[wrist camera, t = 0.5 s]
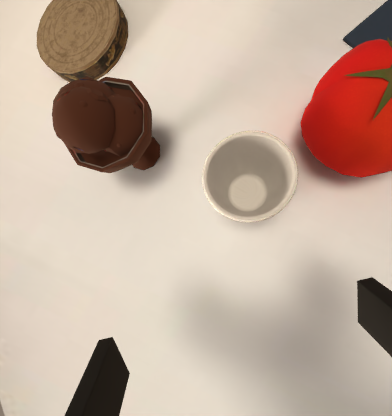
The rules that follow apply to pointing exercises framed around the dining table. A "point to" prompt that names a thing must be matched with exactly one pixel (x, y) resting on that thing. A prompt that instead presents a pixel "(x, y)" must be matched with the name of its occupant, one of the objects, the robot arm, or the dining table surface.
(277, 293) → the dining table surface
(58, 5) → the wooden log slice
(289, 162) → the dixie cup
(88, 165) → the ice cream bowl
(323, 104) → the tomato
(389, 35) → the placemat
